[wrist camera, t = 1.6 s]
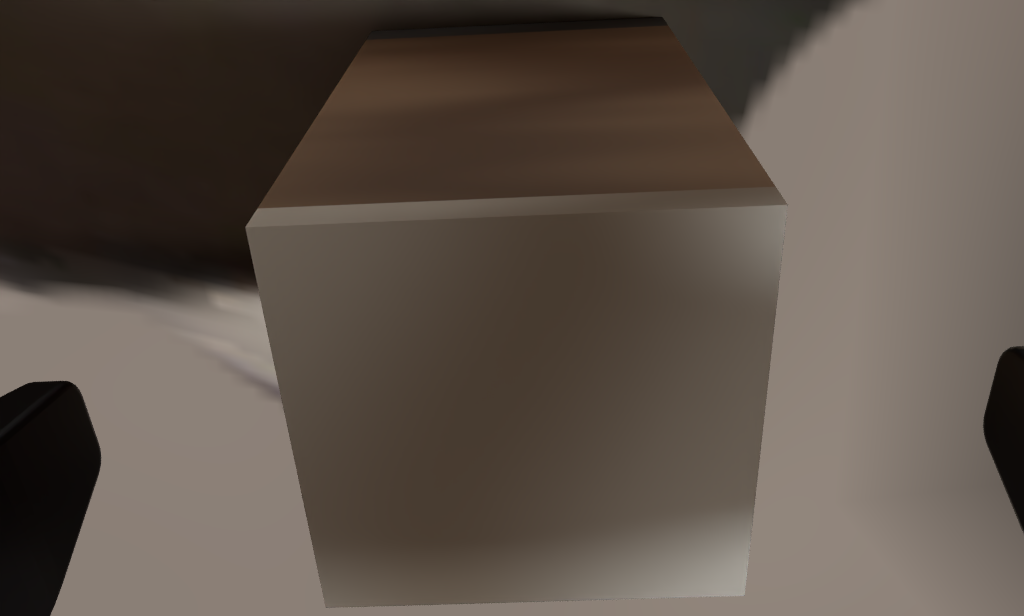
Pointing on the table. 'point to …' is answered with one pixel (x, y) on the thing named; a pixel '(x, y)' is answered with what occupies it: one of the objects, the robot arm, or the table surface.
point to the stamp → (523, 319)
